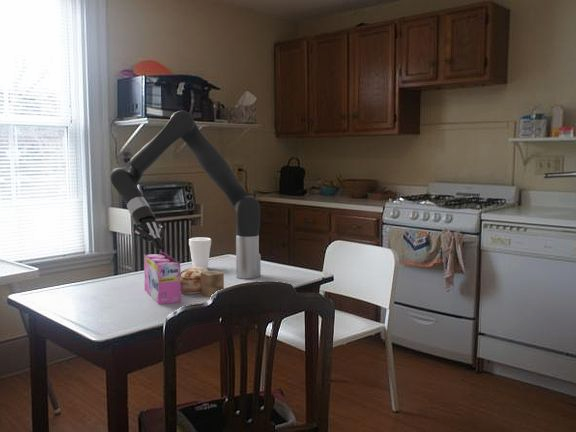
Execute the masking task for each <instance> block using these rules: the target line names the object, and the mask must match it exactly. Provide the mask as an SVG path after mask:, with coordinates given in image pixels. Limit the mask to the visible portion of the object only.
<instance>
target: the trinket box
mask: <svg viewBox="0 0 576 432" xmlns="http://www.w3.org/2000/svg"><path fill="white" fill-rule="evenodd" d="M208 271H209V270H208V268H207V269H205V268H202V267H193V266H192V267H190V268H186V269H184V270H182V271H181V272H180V280H181V293H183V294H188V295H189V294H190V295H192V294H193V295H194V294H199V293H200V294H201V272H208Z"/></svg>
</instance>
